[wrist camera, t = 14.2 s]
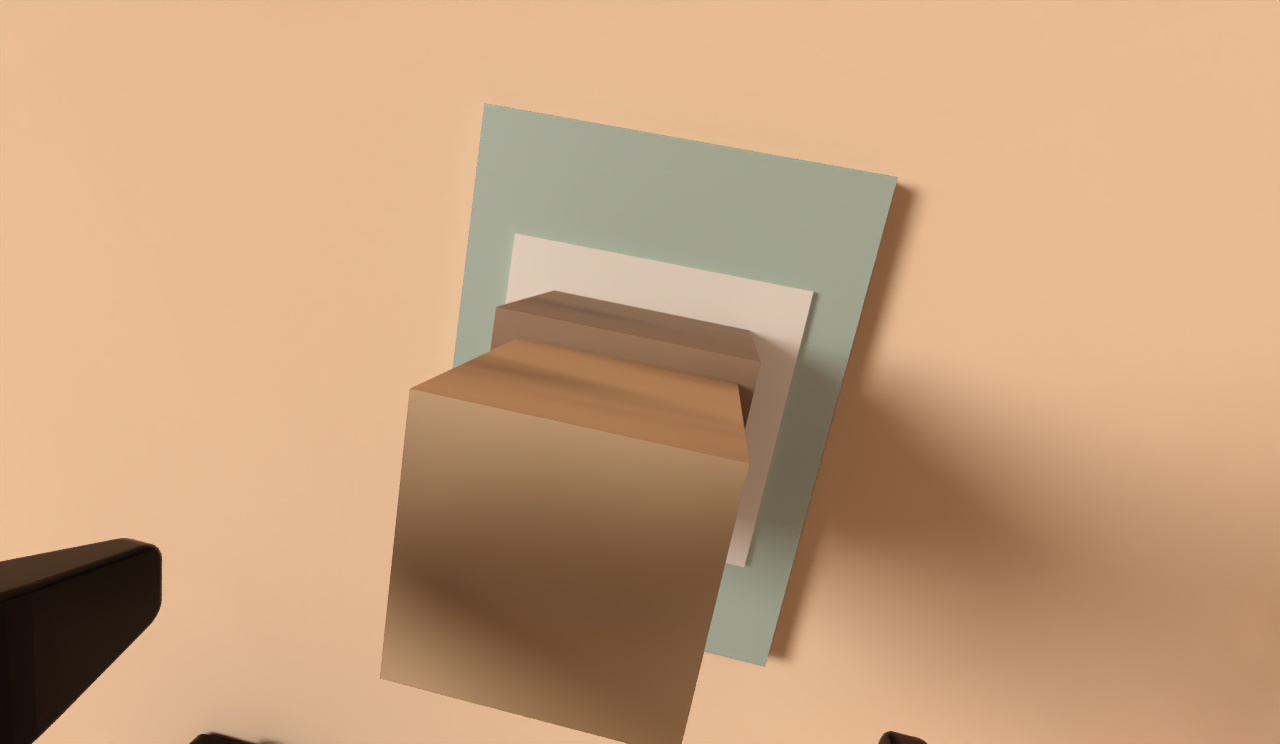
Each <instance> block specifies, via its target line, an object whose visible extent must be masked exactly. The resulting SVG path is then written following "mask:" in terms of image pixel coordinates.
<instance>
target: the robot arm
mask: <svg viewBox="0 0 1280 744" xmlns="http://www.w3.org/2000/svg"><path fill="white" fill-rule="evenodd" d="M161 601H162V555H161V552H160V550H159V548H158V547H156V546H155V545H153V544H149V543H145V542H141V541H137V540H133V539H128V538H120V539H114V540H109V541H104V542H99V543H93V544H88V545H83V546H78V547H73V548H68V549H63V550H57V551H52V552H47V553H42V554H37V555H32V556H26V557H21V558H16V559H11V560H6V561H1V562H0V744H32V743H33V742H34V741H35V740H36V739H37V738H38V737H39V736H40V735H41V734H43V733H44V732H45V731H46V730H47V729H48V728H49V727H50V726H51V725H52V724H53V723H54V722H55V721H56V720H57V719H58V718H59V717H60V716H61V715H62V714H63V713H64V712H65V711H66V710H67V709H68V708H69V707H70V706H71V705H72V704H73V703H74V702H75V701H76V700H77V699H78V698H79V697H80V696H81V694H82V693H83V692H84V691H85V690H86V689H87V688H88V687H89V686H90V685H91V684H92V683H93V682H94V681H95V680H96V679H97V678H98V677H99V676H100V675H101V674H102V673H103V672H104V671H105V670H106V669H107V668H108V667H109V666H110V665H111V664H112V663H113V662H114V661H115V660H116V659H117V658H118V657H119V656H120V655H121V654H122V653H123V652H124V651H125V650H126V649H127V648H128V647H129V646H130V645H131V644H132V643H133V642H134V641H135V640H136V639H137V638H138V637H139V636H140V635H141V634H142V633H143V632H144V631H145V629H146V628H147V627H148V626H149V625H150V624H151V623H152V622H153V620H154V619H155V617H156V616H157V614H158V612H159V610H160V606H161ZM190 744H240V743H236V742H232V741H229V740H225V739H222V738H218V737H214V736H211V735H207V734H200V735H198V736H197V737H196V738H195V739H194V740H193V741H192V742H191V743H190ZM879 744H927V743H926V742H925V741H923V740H922V739H920V738H917V737H913V736H909V735H905V734H901V733H897V732H893V731H889V732H886V733H884V734H883V736H882V737H881V739H880V741H879Z"/></svg>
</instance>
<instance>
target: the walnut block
mask: <svg viewBox="0 0 1280 744" xmlns="http://www.w3.org/2000/svg"><path fill="white" fill-rule="evenodd" d="M517 338H523V339H528V340H533V341H537V342H542V343H547V344H552V345H556V346H561V347H566V348H571V349H576V350H580V351H585V352H590V353H595V354H599V355H604V356H609V357H614V358H618V359H623V360H628V361H633V362H638V363H642V364H647V365H652V366H657V367H661V368H666V369H671V370H676V371H680V372H685V373H690V374H695V375H699V376H704V377H709V378H714V379H719V380H723V381H728V382H733V383H738V389H739V396H740V402H741V409H742V416H743V423H744V429H745V427H746V423H747V419H748V415H749V411H750V407H751V402H752V398H753V394H754V390H755V386H756V382H757V377H758V373H759V369H760V365H761V360H760V358H759V355H758V352H757V350H756V347H755V344H754V342H753V339H752V336H751V334H750V331H749V330H745V329H741V328H736V327H731V326H726V325H721V324H716V323H711V322H706V321H701V320H697V319H692V318H687V317H682V316H677V315H672V314H667V313H662V312H658V311H653V310H648V309H643V308H638V307H633V306H628V305H623V304H618V303H614V302H609V301H604V300H599V299H594V298H589V297H584V296H579V295H574V294H570V293H565V292H560V291H555V290H554V291H550V292H547V293H543V294H539V295H536V296H532V297H529V298H525V299H522V300H518V301H515V302H511V303H508V304H504V305H501V306H497V307H496V311H495V319H494V326H493V333H492V341H491V348H490V351H491V350H493V349H495V348H498V347H500V346H502V345H504V344H506V343H508V342H510V341H512V340H515V339H517Z"/></svg>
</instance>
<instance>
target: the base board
mask: <svg viewBox="0 0 1280 744" xmlns="http://www.w3.org/2000/svg"><path fill="white" fill-rule="evenodd" d="M897 179H898V177H894V176H888V175H883V174H877V173H871V172H866V171H860V170H855V169H849V168H844V167H838V166H832V165H827V164H821V163H816V162H810V161H804V160H799V159H793V158H788V157H782V156H776V155H771V154H765V153H760V152H754V151H749V150H743V149H737V148H732V147H726V146H721V145H715V144H709V143H704V142H698V141H693V140H687V139H681V138H676V137H670V136H665V135H659V134H654V133H648V132H642V131H637V130H631V129H626V128H620V127H614V126H609V125H603V124H598V123H592V122H586V121H581V120H575V119H570V118H564V117H558V116H553V115H547V114H542V113H536V112H531V111H525V110H519V109H514V108H508V107H503V106H497V105H491V104H486V103H484V112H483V120H482V129H481V137H480V145H479V154H478V162H477V170H476V179H475V187H474V195H473V204H472V212H471V220H470V229H469V237H468V245H467V254H466V262H465V271H464V279H463V287H462V296H461V304H460V312H459V321H458V329H457V337H456V346H455V354H454V362H453V368H455V367H457V366H459V365H461V364H464V363H466V362H468V361H470V360H472V359H474V358H476V357H478V356H481V355H483V354H485V353H487V352H489V351H490V348H491V341H492V333H493V326H494V319H495V311H496V307H497V306H501V305H504V304H508V303H511V302H515V301H518V300H522V299H525V298H529V297H532V296H536V295H539V294H543V293H547V292H550V291H554V290H555V291H560V292H565V293H570V294H574V295H579V296H584V297H589V298H594V299H599V300H604V301H609V302H614V303H618V304H623V305H628V306H633V307H638V308H643V309H648V310H653V311H658V312H662V313H667V314H672V315H677V316H682V317H687V318H692V319H697V320H701V321H706V322H711V323H716V324H721V325H726V326H731V327H736V328H741V329H745V330H749V331H750V334H751V336H752V339H753V342H754V344H755V347H756V350H757V352H758V355H759V358H760V360H761V365H760V369H759V373H758V377H757V382H756V386H755V390H754V394H753V398H752V402H751V407H750V411H749V415H748V419H747V423H746V427H745V436H746V443H747V450H748V456H749V463H750V464H749V468H748V472H747V476H746V481H745V485H744V489H743V493H742V497H741V501H740V505H739V509H738V514H737V518H736V522H735V526H734V530H733V534H732V538H731V542H730V546H729V551H728V555H727V559H726V563H725V567H724V571H723V575H722V579H721V584H720V588H719V592H718V596H717V600H716V604H715V608H714V612H713V617H712V621H711V625H710V629H709V633H708V637H707V641H706V645H705V650H704V652H708V653H712V654H716V655H720V656H724V657H728V658H732V659H736V660H740V661H744V662H748V663H752V664H756V665H760V666H764V667H765V665H766V661H767V657H768V654H769V650H770V646H771V643H772V639H773V635H774V632H775V628H776V624H777V620H778V617H779V613H780V609H781V606H782V602H783V598H784V595H785V591H786V587H787V584H788V580H789V576H790V573H791V569H792V565H793V562H794V558H795V554H796V551H797V547H798V543H799V539H800V536H801V532H802V528H803V525H804V521H805V517H806V514H807V510H808V506H809V503H810V499H811V495H812V492H813V488H814V484H815V481H816V477H817V473H818V470H819V466H820V462H821V458H822V455H823V451H824V447H825V444H826V440H827V436H828V433H829V429H830V425H831V422H832V418H833V414H834V411H835V407H836V403H837V400H838V396H839V392H840V389H841V385H842V381H843V377H844V374H845V370H846V366H847V363H848V359H849V355H850V352H851V348H852V344H853V341H854V337H855V333H856V330H857V326H858V322H859V319H860V315H861V311H862V307H863V304H864V300H865V296H866V293H867V289H868V285H869V282H870V278H871V274H872V271H873V267H874V263H875V260H876V256H877V252H878V249H879V245H880V241H881V238H882V234H883V230H884V226H885V223H886V219H887V215H888V212H889V208H890V204H891V201H892V197H893V193H894V190H895V186H896V182H897Z"/></svg>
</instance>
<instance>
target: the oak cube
mask: <svg viewBox="0 0 1280 744" xmlns="http://www.w3.org/2000/svg"><path fill="white" fill-rule="evenodd" d="M749 464H750V463H749V456H748V450H747V443H746V436H745V429H744V423H743V416H742V409H741V402H740V396H739V389H738V383H733V382H728V381H723V380H719V379H714V378H709V377H704V376H699V375H695V374H690V373H685V372H680V371H676V370H671V369H666V368H661V367H657V366H652V365H647V364H642V363H638V362H633V361H628V360H623V359H618V358H614V357H609V356H604V355H599V354H595V353H590V352H585V351H580V350H576V349H571V348H566V347H561V346H556V345H552V344H547V343H542V342H537V341H533V340H528V339H523V338H517V339H515V340H512V341H510V342H508V343H506V344H504V345H502V346H500V347H498V348H495V349H493V350H491V351H489V352H487V353H485V354H483V355H481V356H478V357H476V358H474V359H472V360H470V361H468V362H466V363H464V364H461V365H459V366H457V367H455V368H453V369H451V370H449V371H447V372H445V373H442V374H440V375H438V376H436V377H434V378H432V379H430V380H428V381H425V382H423V383H421V384H419V385H417V386H415V387H413V388H411V389H410V392H409V401H408V411H407V421H406V430H405V440H404V450H403V459H402V469H401V479H400V489H399V498H398V508H397V518H396V527H395V537H394V547H393V556H392V566H391V576H390V585H389V595H388V605H387V614H386V624H385V634H384V643H383V653H382V663H381V672H380V679H384V680H388V681H392V682H395V683H399V684H403V685H407V686H411V687H414V688H418V689H422V690H426V691H430V692H434V693H437V694H441V695H445V696H449V697H453V698H456V699H460V700H464V701H468V702H472V703H476V704H479V705H483V706H487V707H491V708H495V709H498V710H502V711H506V712H510V713H514V714H518V715H521V716H525V717H529V718H533V719H537V720H540V721H544V722H548V723H552V724H556V725H560V726H563V727H567V728H571V729H575V730H579V731H582V732H586V733H590V734H594V735H598V736H602V737H605V738H609V739H613V740H617V741H621V742H625V743H628V744H682V740H683V736H684V732H685V728H686V724H687V720H688V715H689V711H690V707H691V703H692V699H693V695H694V691H695V687H696V682H697V678H698V674H699V670H700V666H701V662H702V658H703V654H704V650H705V645H706V641H707V637H708V633H709V629H710V625H711V621H712V617H713V612H714V608H715V604H716V600H717V596H718V592H719V588H720V584H721V579H722V575H723V571H724V567H725V563H726V559H727V555H728V551H729V546H730V542H731V538H732V534H733V530H734V526H735V522H736V518H737V514H738V509H739V505H740V501H741V497H742V493H743V489H744V485H745V481H746V476H747V472H748V468H749Z"/></svg>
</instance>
